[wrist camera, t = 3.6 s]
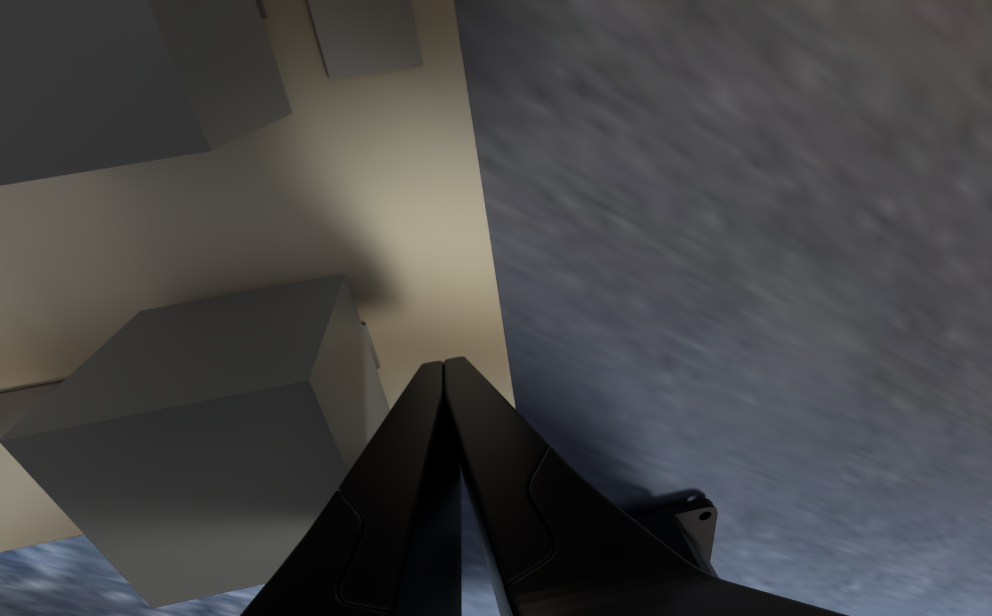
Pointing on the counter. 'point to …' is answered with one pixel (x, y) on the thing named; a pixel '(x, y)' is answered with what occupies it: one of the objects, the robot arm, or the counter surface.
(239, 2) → the tab middle
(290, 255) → the switch panel
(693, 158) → the counter surface
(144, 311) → the grey boxy piece
